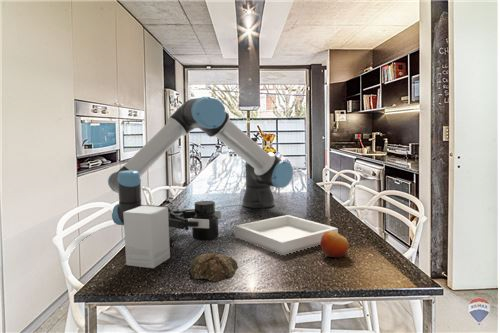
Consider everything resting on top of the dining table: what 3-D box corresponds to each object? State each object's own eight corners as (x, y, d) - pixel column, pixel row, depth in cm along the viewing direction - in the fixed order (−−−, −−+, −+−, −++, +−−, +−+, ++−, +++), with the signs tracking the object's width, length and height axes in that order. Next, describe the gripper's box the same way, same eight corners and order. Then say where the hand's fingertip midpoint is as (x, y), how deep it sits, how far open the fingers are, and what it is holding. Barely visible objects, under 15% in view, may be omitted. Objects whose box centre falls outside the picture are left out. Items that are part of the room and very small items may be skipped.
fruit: (310, 247, 113) (324, 224, 113) (333, 259, 114) (346, 236, 114) (317, 256, 105) (332, 231, 105) (341, 269, 106) (356, 245, 106)
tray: (287, 225, 143) (287, 214, 143) (337, 240, 124) (337, 228, 124) (235, 237, 129) (234, 225, 129) (282, 256, 110) (282, 242, 109)
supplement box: (171, 257, 110) (169, 206, 108) (153, 269, 101) (151, 213, 100) (144, 254, 113) (142, 204, 111) (124, 265, 104) (122, 211, 102)
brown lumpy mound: (195, 263, 106) (194, 245, 105) (239, 264, 105) (239, 246, 104) (183, 282, 93) (182, 262, 93) (233, 283, 92) (232, 263, 92)
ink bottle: (220, 233, 134) (219, 199, 132) (219, 241, 125) (218, 205, 123) (192, 234, 133) (191, 200, 132) (189, 241, 124) (188, 205, 123)
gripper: (171, 218, 145) (226, 221, 140) (138, 236, 121) (202, 240, 116) (170, 199, 144) (225, 200, 139) (137, 213, 120) (202, 216, 115)
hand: (215, 219), depth 127 cm, fingers open, 12 cm apart
